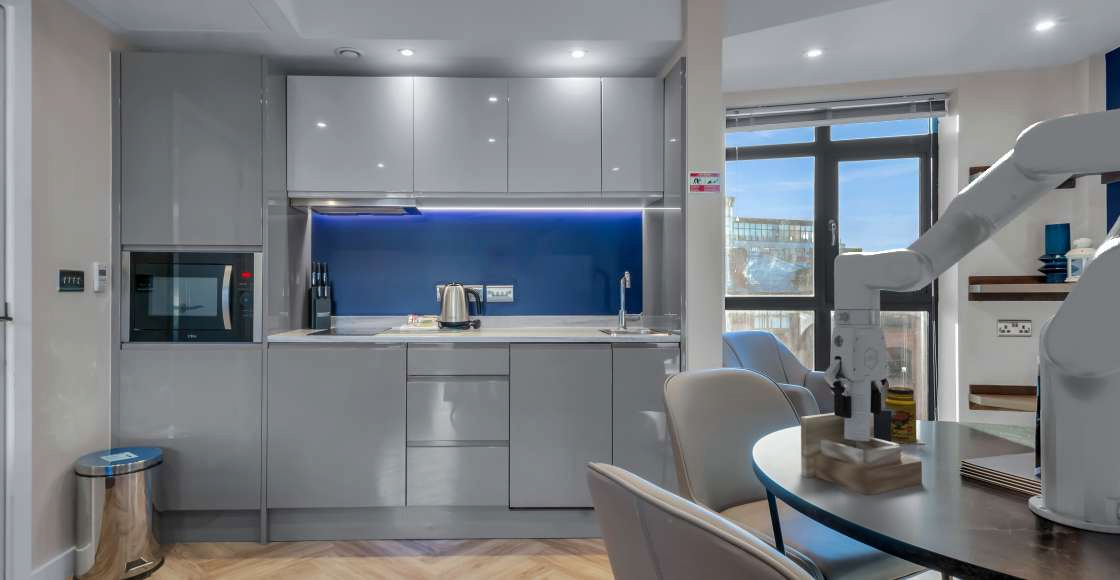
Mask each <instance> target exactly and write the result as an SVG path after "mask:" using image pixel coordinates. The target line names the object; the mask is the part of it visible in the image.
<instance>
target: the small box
mask: <svg viewBox="0 0 1120 580" xmlns="http://www.w3.org/2000/svg"><path fill="white" fill-rule="evenodd" d="M891 412H892V411H891V410H888V409H885V407H882V406H881V414H874V413H873V415H874V438H877V439H881V440H885V441H888V442H891Z"/></svg>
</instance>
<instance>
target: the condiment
mask: <svg viewBox="0 0 1120 580" xmlns="http://www.w3.org/2000/svg"><path fill="white" fill-rule="evenodd" d="M886 392H887V394H886V396H887V398H886V400H885V407H884V408H885V409H888V410H891V411H892V412H891V442H892V443H896V444H903V445H905V444H906V445H914V444H915V445H917V444H927V442H924V441H921V440H919V439H918V438H917V403H916V401H915V400H914V398H915V395H914V394H915V393H914V392H915V391H914V389H912V388H909V387H901V386H890V387H888V388H887V389H886Z"/></svg>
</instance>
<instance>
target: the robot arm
mask: <svg viewBox="0 0 1120 580" xmlns="http://www.w3.org/2000/svg"><path fill="white" fill-rule="evenodd" d="M1119 171H1120V108H1116V109H1109V110H1108V109H1107V110H1103V111H1101V110H1100V111H1093V112H1088V113H1079V114H1072V115H1071V114H1070V115H1065V116H1059V117H1053V118H1048V119H1045V120H1042V121H1038V122H1035V123H1034V124H1032V125H1030V126H1029V127H1027V128H1026V129H1024V130H1023V131H1022V132H1021V133H1020V134H1019V136H1018V137H1017V139H1016V141H1015V142H1014V145H1013V149H1012V150H1010V151H1009V152H1008V153H1006V154H1005V155H1004V156H1002V157H1001V158H1000V159H999V160H998V161H996V162H995V164H993V165H992V166H991V167H990V168H988V169H987V170H986V171H984V172H983V173H982V174H981V175H979V176H978V177H977V178H976V179H975V180H973V181H972V182H971V183H970V184H969V185H967V186H966V187H965V188H963V189H962V190H961V191H960V192H958V194H956V196H955V197H954V198H953V199H952V200H951V201H950V203H949V204H948V206H947V207H946V209H945V210H944V212H943V213H942V215H941V217H940V218H939V219H938V220H937V221H936V222H935V223H934V224H933V225H932V226H931V227H930V228H929V229H928V230H927V231H926V232H924V233H923V234H922V235H921V236H920V237H919V238H918V239H916V240H915V241H913V242H912V243H911V244H910V245H908V246H907V247H906V248H897V249H890V250H885V251H884V250H883V251H879V252H878V251H877V252H868V251H867V252H865V251H864V252H863V251H862V252H856V251H855V252H844V253H841V254H838V255H836V257H835V259H834V263H833V269H834V271H833V276H834V277H833V279H834V280H833V281H834V283H833V284H834V285H833V287H834V288H833V289H834V291H833V292H834V297H833V298H834V316H833V318H834V319H833V320H834V326H833V328H832V329H833V330H832V336H831V343H830V356H829V357H830V359H829V360H830V363H829V367H827V368H826V370H825V371H824V372H823V374H822V375H823V379H824V380H825V382H826V383H827V386H828V387H829V388H830V390H831V394H832V395H834V396H833V398H834V399H833V403H834V405H833V408H834V409H833V410H834V411H833V413H834V414H835V415H836V416H840V417H844V418H851V416H852V413H851V396H848V394H849V392H850V389H851V386H852V383H853V382H863V381H865V376H866V375H870V376H871V408H870V413H874V414H881V407H882V393H883V392H884V390H885V388H884V386H885V385H886V383H887V378H888V377H889V375H890V373H891V369H890V368H889V367H888V365H889V364H888V352H887V342H886V336H885V332H884V328H883V326H881V296H880V295H881V290H882V291H891V292H899V293H903V292H904V293H906V292H907V293H908V292H915V291H919V290H921V289H923V288H925V287H927V286H928V285H930V284H931V283H933V282H934V281H935V280H936V279H937V278H939V277H940V276H941V275H943V274H944V273H946V272H947V271H948V270H949V269H951V268H952V267H954V265H956V264H957V263H958V262H960V261H961V260H962V259H964V258H965V257H966V256H967V255H969V254H970V253H971V252H973V251H974V250H976V249H977V247H979V246H980V245H983V243H986V242H987V241H988V240H989V239H991V238H992V237H994V235H996V234H997V233H998V232H1000V231H1001V230H1003V228H1004V227H1006V226H1007V225H1009V224H1010V223H1011V222H1013V220H1015V219H1017V218H1018V217H1019V216H1020V215H1022V214H1023V213H1025V212H1026V211H1027V210H1028V209H1029V208H1031V207H1032V206H1033V205H1034V204H1036V203H1037V202H1038V201H1040V200H1041V199H1043V198H1044V197H1046V196H1047V195H1049V194H1050V193H1051V192H1052V191H1054V190H1055V189H1056V188H1057V187H1059V186H1061V185H1062V184H1063V183H1064V182H1065V181H1067V180H1068V179H1069V178H1071V177H1072V176H1073V175H1077V174H1093V173H1107V172H1119ZM1038 336H1039V337H1038V353H1039V357H1038V358H1039V372H1040V373H1039V375H1040V376H1039V377H1040V378H1039V382H1040V387H1039V388H1040V414H1039V415H1040V482H1041V483H1040V485H1041V486H1040V489H1041V491H1040V492H1041V493H1040V495H1035V496H1031V497H1030V498H1029V499H1028V508H1029V509H1030V511H1032V512H1033V513H1035V514H1036V515H1038V516H1040V517H1042V518H1043V519H1044V518H1045V519H1047V520H1049V521H1052V522H1054V523H1057V524H1061V525H1064V526H1069V527H1073V528H1078V529H1082V530H1087V531H1092V532H1099V533H1107V534H1120V215H1119V216H1118V217H1117V220H1116V222H1115V223H1114V224H1113V226H1112V228H1110V230H1109V232H1108V234H1106V236H1105V238H1104V239H1103V241H1102V242H1101V244H1100V245H1099V247H1098V248H1097V249H1096V250H1095V252H1093V253H1092V254H1091V255H1090V256H1089V258H1087V260H1086V261H1085V263H1084V265H1083V268H1082V272H1081V274H1080V276H1079V277H1078V279H1077V280H1076V282H1075V284H1074V285H1073V287H1072V288H1071V290H1070V291H1069V293H1068V294H1067V296H1066V297H1065V299H1064V300H1063V302H1062V303H1061V305H1060V306H1059V308H1058V310H1056V313H1055V314H1052V315H1051V316H1050V317H1049V318H1048V319H1046V321H1045V322H1044V323H1043V325H1042V326H1041V329H1040V331H1039V335H1038ZM843 383H844V384H843ZM842 384H843V385H842Z"/></svg>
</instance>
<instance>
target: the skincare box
mask: <svg viewBox="0 0 1120 580" xmlns="http://www.w3.org/2000/svg"><path fill="white" fill-rule="evenodd" d="M871 382H872V381H871V376H870V375H866V376H865V381H863V382H853V383H852V386H851V389H850V392H849V394H848V396H851V413H852V416H851V418H845V420H844V438H845V439H849V440H856V441H870V408H871Z"/></svg>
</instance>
